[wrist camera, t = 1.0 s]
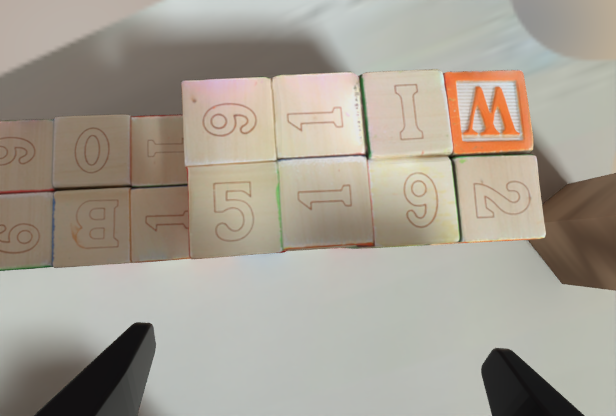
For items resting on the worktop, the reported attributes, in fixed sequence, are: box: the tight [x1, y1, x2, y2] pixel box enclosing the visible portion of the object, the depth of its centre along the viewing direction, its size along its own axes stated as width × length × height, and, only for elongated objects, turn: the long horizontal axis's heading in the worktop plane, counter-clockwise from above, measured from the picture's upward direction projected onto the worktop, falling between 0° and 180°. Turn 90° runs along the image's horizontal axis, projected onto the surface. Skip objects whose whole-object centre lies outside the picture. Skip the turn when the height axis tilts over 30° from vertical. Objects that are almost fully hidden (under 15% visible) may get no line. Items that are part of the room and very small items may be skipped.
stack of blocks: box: [0, 69, 546, 271], centre depth 18 cm, size 21×6×12 cm, turn 93°
